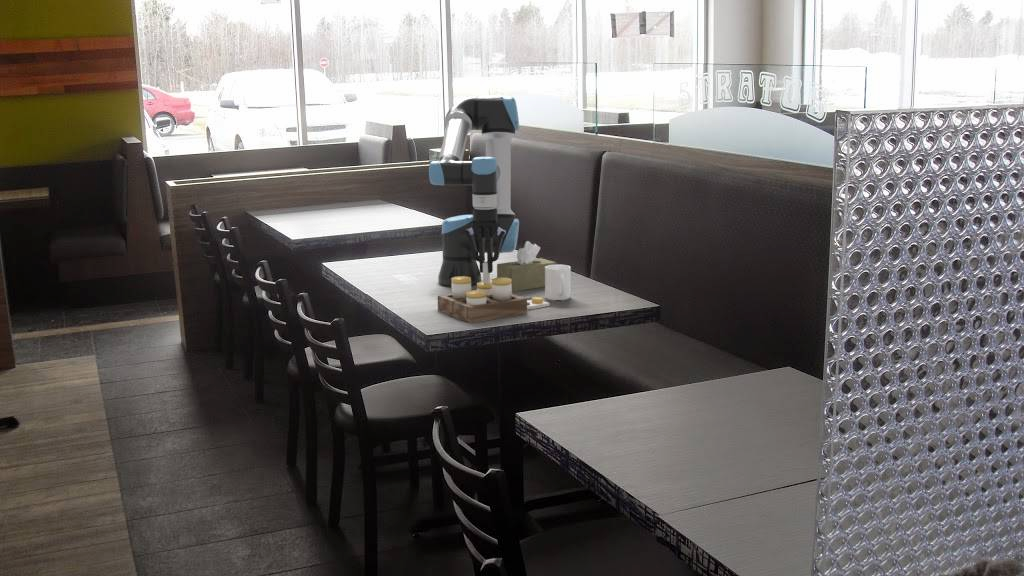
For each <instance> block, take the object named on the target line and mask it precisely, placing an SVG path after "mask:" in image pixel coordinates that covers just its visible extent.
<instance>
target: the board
mask: <svg viewBox="0 0 1024 576" xmlns="http://www.w3.org/2000/svg"><path fill="white" fill-rule="evenodd" d="M473 290H474V289H471V291H473ZM523 297H524V296H520V295H517V294H514V293H512V299H511V300H505V301H495V300H492V295H487V296H486V300H487V303H486V304H480V305H473V306H472V305H469V304H467V300H466V299H461V300H458V299H453V298H452V293H446V294H440V295H437V311H439V312H441V313H444V314H446V315H449V316H452V317H454V318H457V319H459V320H462V321H464V322H466V321H467V323H469V324H472V323H473V322H474V323H479V322H486V321H492V320H496V319H497V320H498V319H504V318H507V317H508V318H509V317H514V316H520V315H521V316H522V315H528V310H527V299H526V298H523ZM474 323H473V324H474Z"/></svg>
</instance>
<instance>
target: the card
mask: <svg viewBox="0 0 1024 576" xmlns="http://www.w3.org/2000/svg"><path fill="white" fill-rule="evenodd" d="M522 297H523V298H526V299H527V311H528V310H534V309H539V308H540V309H541V308H545V307H546V306H547V307H550V302H547V301H544V298H543V297H540V296H539V297H536V296H535V297H532V296H529V295H526V296H522Z"/></svg>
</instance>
